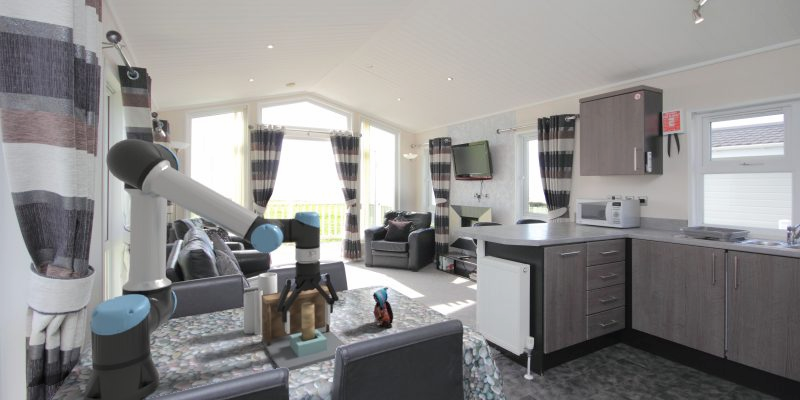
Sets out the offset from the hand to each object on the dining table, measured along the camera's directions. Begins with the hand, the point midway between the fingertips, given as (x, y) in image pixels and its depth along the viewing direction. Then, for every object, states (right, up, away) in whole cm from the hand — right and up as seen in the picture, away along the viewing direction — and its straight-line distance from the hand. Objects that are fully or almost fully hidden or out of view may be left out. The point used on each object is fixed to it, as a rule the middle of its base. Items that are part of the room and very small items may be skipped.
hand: (308, 327), depth 113 cm
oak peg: (0, -7, 0) cm, 7 cm away
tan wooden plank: (-6, -7, +10) cm, 14 cm away
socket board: (-2, -7, +3) cm, 8 cm away
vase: (-21, -7, +16) cm, 28 cm away
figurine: (+22, -7, +21) cm, 31 cm away
